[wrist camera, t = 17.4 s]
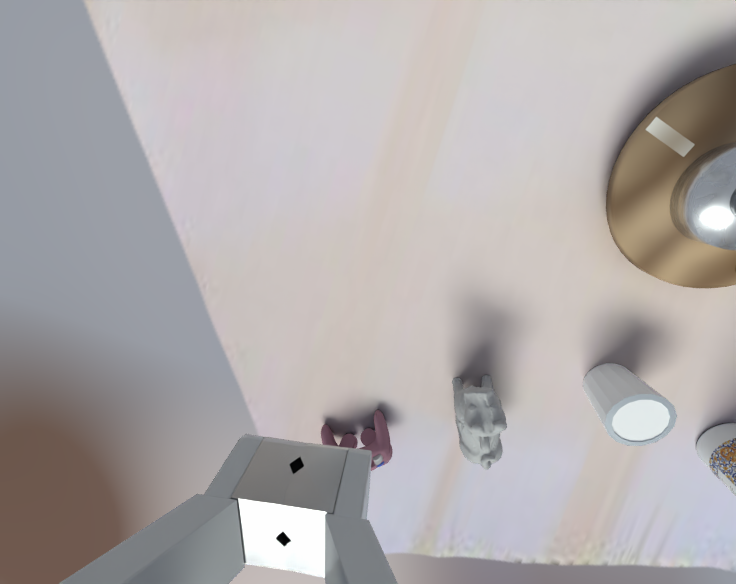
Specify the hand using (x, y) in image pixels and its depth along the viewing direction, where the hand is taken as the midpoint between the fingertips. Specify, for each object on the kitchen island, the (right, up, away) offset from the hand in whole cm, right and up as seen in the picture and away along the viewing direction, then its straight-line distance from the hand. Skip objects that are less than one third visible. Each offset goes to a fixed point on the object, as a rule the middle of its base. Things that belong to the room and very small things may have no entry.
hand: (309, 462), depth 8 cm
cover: (+34, +13, +24) cm, 44 cm away
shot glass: (+31, -7, +35) cm, 48 cm away
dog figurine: (+15, -10, +39) cm, 43 cm away
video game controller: (0, -16, +43) cm, 46 cm away
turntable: (+35, +14, +25) cm, 45 cm away
